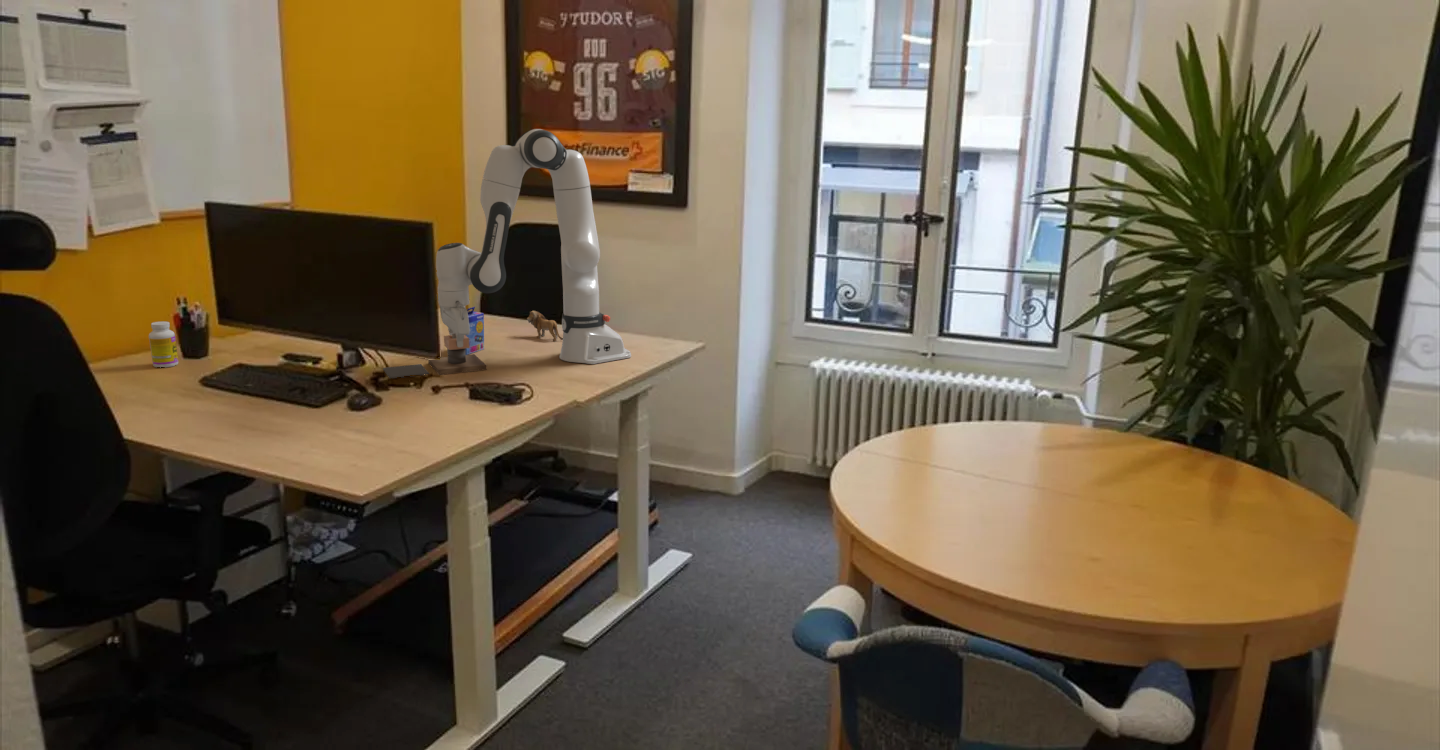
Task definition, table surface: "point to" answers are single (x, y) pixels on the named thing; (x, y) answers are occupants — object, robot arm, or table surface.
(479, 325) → the ink cartridge box
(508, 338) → the table surface
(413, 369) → the mat
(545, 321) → the lion figurine
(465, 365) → the stand
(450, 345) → the pink slotted block
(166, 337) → the supplement bottle
